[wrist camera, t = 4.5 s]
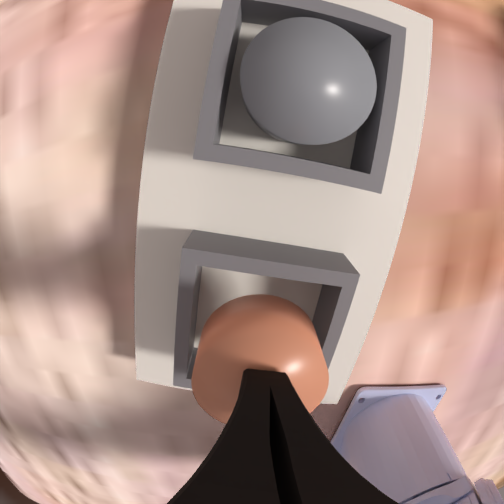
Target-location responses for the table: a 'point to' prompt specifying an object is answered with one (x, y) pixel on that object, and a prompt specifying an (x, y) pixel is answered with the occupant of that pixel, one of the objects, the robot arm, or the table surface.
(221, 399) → the terracotta button
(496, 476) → the table surface
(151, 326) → the button panel
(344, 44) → the grey low dome
